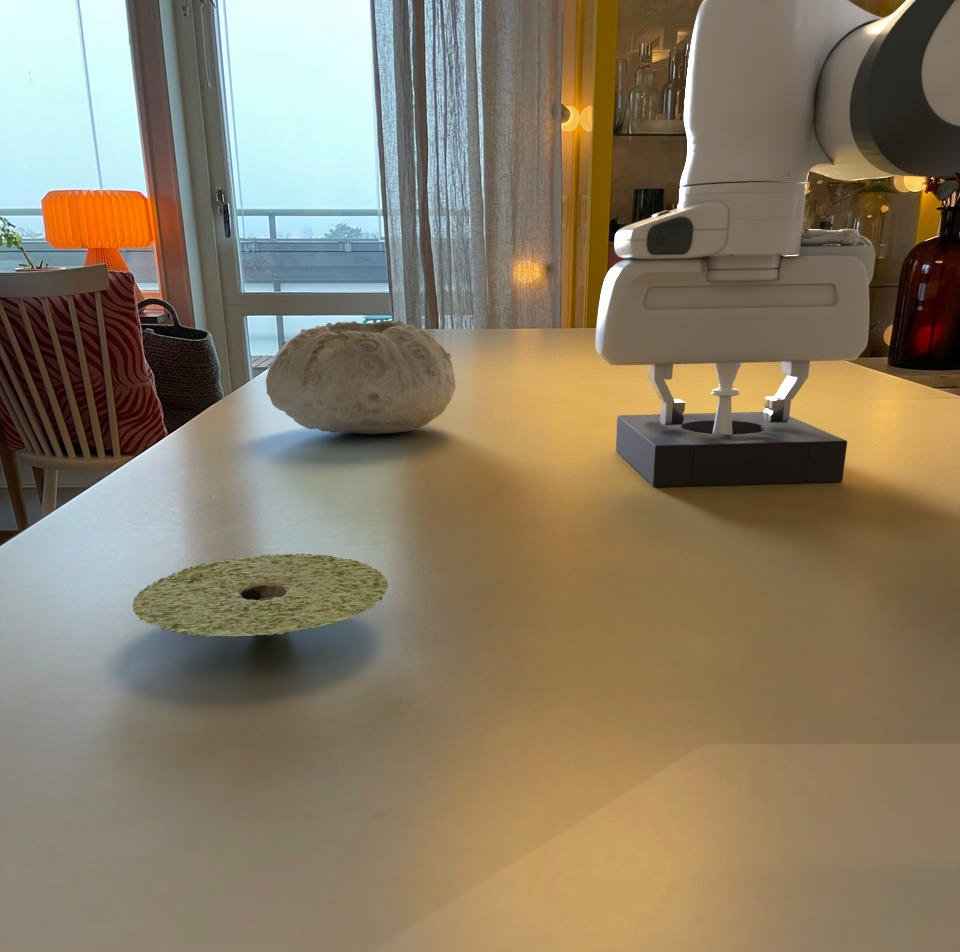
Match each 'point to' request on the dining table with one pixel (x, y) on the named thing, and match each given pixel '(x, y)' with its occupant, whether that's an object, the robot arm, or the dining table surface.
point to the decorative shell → (361, 378)
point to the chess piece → (725, 396)
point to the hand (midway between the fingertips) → (723, 422)
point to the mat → (260, 595)
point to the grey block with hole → (729, 451)
